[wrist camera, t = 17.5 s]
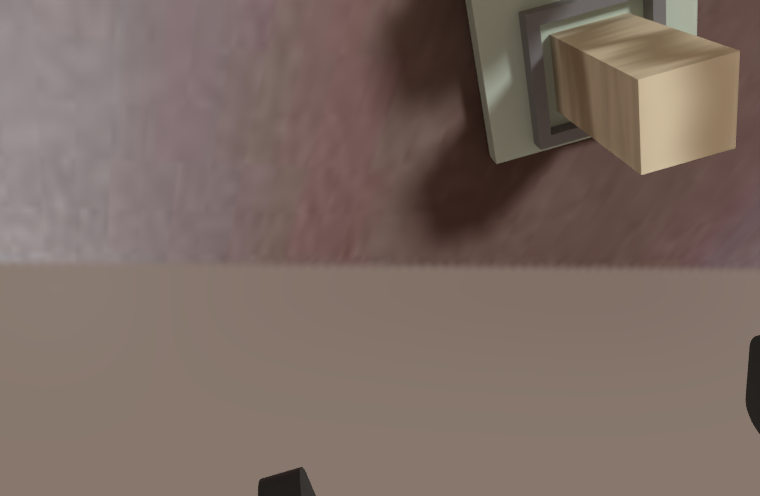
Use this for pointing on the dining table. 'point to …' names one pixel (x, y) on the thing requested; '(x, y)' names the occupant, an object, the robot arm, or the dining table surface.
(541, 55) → the baseplate
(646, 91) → the maple pillar
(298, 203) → the dining table surface
